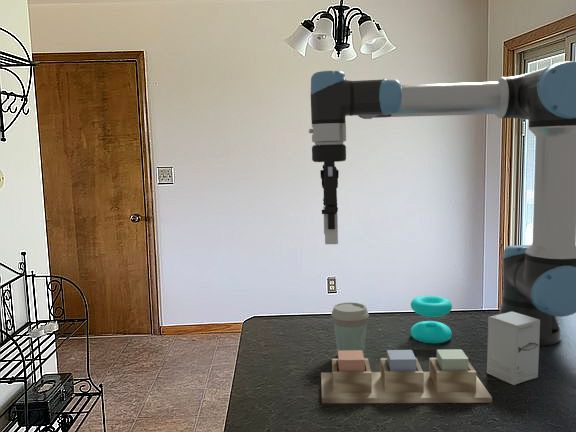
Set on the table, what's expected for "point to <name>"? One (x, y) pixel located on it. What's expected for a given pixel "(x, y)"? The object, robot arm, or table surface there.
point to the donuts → (431, 329)
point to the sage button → (452, 360)
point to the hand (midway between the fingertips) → (330, 238)
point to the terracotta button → (351, 361)
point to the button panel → (403, 385)
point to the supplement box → (513, 347)
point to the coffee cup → (350, 325)
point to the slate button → (401, 360)
